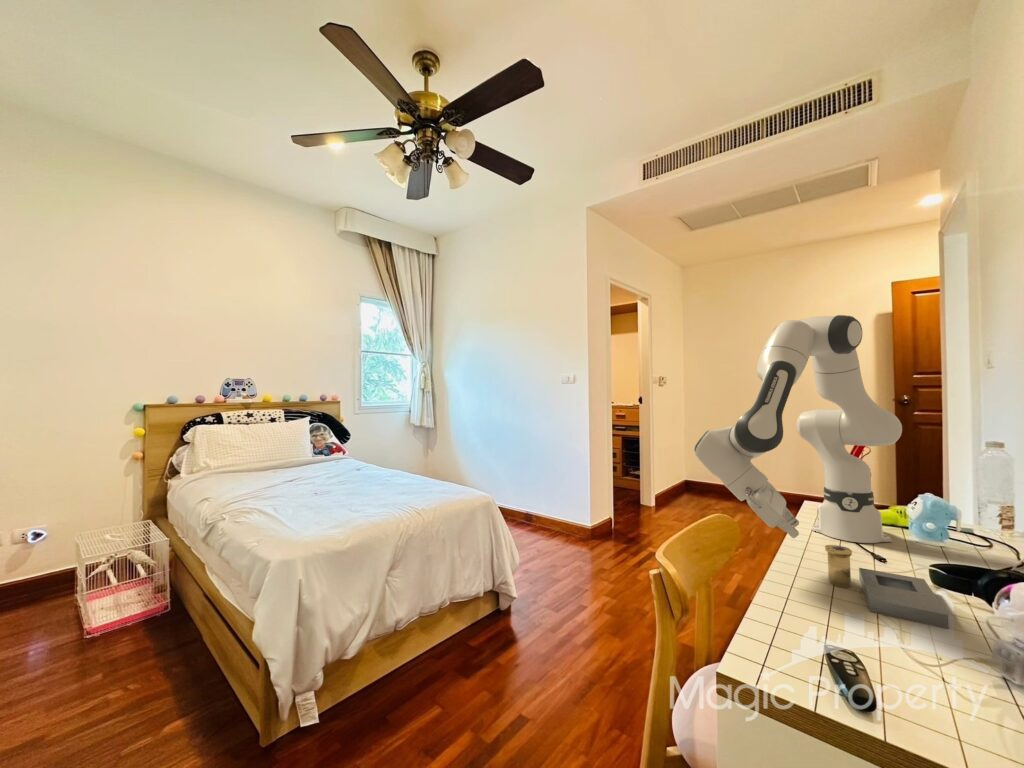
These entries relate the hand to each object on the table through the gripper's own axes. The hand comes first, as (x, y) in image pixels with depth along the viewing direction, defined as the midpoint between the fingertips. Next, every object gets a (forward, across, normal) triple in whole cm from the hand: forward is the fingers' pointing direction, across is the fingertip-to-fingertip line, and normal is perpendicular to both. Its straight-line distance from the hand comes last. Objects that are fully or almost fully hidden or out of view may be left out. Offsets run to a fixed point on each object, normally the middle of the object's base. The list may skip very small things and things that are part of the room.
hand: (796, 530), depth 99 cm
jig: (+20, -3, -5) cm, 21 cm away
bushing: (+13, 0, +2) cm, 13 cm away
